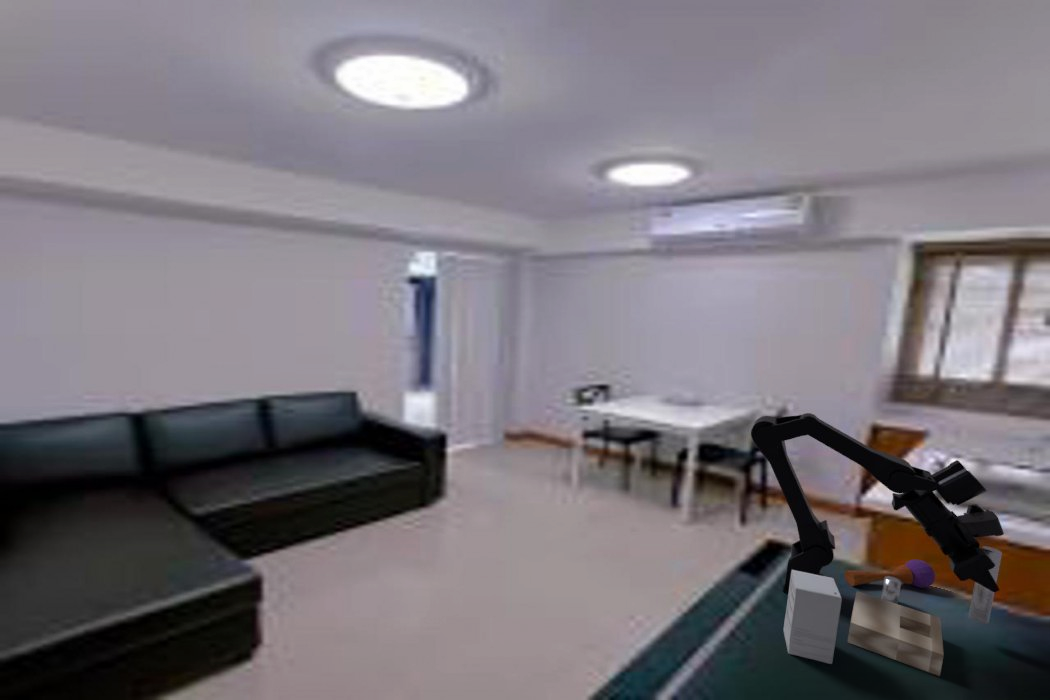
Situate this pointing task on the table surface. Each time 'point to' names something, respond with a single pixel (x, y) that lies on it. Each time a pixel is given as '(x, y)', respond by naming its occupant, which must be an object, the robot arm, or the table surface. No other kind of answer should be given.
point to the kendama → (896, 575)
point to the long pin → (985, 590)
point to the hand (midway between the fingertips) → (994, 586)
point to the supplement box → (812, 616)
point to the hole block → (897, 632)
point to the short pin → (891, 589)
